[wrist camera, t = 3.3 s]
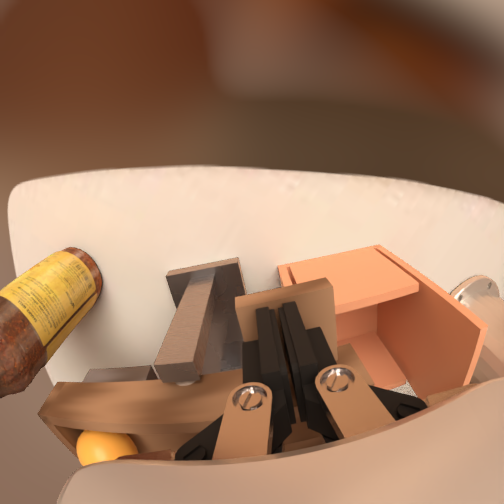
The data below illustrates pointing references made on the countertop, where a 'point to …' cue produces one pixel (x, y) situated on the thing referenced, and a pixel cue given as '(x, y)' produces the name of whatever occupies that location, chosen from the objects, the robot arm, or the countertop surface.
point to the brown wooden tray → (188, 385)
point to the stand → (203, 322)
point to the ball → (103, 446)
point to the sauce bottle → (43, 313)
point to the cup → (396, 320)
